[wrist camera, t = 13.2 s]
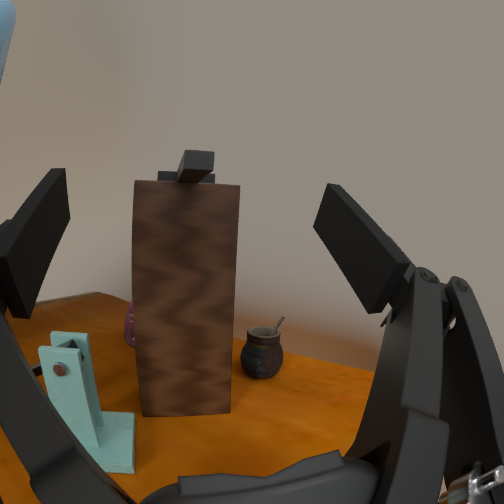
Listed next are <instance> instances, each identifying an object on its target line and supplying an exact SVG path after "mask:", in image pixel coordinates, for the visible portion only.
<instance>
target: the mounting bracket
mask: <svg viewBox="0 0 504 504" xmlns="http://www.w3.org/2000/svg"><path fill="white" fill-rule="evenodd" d="M50 338H51V344H52V347H51V346H40V347H39V349H38V353H39V358H40V363H41V367H42V372H43V376H44V380H45V384H46V388H47V392H48V395H49V399H50V401H51V402H52V404H53V405H54V407H55V408H56V410H57V411H58V413H59V414H60V416H61V417H62V418H63V420H64V421H65V423H66V424H67V425H68V427H69V428H70V430H71V431H72V432H73V434H74V435H75V436H76V438H77V439H78V440H79V441H80V443H81V444H82V445H83V446H84V448H85V449H86V450H87V451H88V453H89V454H90V455H91V456H92V457H93V459H94V460H95V461H96V462H97V463H98V464H99V466H100V467H101V468H102V469H103V470H104V471H105V472H111V473H129V474H134V473H135V425H136V420H135V414H134V413H129V412H106V411H101V407H100V402H99V398H98V393H97V388H96V382H95V377H94V371H93V364H92V358H91V351H90V343H89V335H88V333H73V332H59V331H52V332H51V334H50ZM71 339H73V340H74V341H75V343H76V345H77V346H78V348H79V349H76V348H63V347H56V346H58V345H60V344H62V343H64V342H67V341H69V340H71ZM80 351H81V352H80ZM81 353H82V354H83V356H84V359H83V362H82V358H81Z"/></svg>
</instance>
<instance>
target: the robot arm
mask: <svg viewBox="0 0 504 504" xmlns="http://www.w3.org/2000/svg"><path fill="white" fill-rule="evenodd" d="M15 17H16V14H15V9H14V6H13V4H12V3H11V2H10V1H9V0H0V83H1V79H2V76H3V72H4V67H5V63H6V58H7V55H8V51H9V47H10V42H11V38H12V34H13V30H14V26H15ZM69 220H70V212H69V204H68V195H67V184H66V172H65V168H55V169H51V170H50V171H49V172H48V173H47V174H46V176H45V177H44V178H43V179H42V180H41V181H40V183H39V184H38V185H37V186H36V188H35V189H34V190H33V192H32V193H31V194H30V195H29V197H28V198H27V199H26V201H25V202H24V203H23V204H22V206H21V207H20V209H19V210H18V211H17V213H16V214H15V215H14V217H13V218H12V219H11V220H6V221H5V222H3V223H2V224H1V225H0V424H1V426H2V428H3V430H4V432H5V434H6V436H7V438H8V440H9V442H10V443H11V445H12V447H13V449H14V450H15V452H16V454H17V455H18V457H19V459H20V460H21V462H22V464H23V465H24V467H25V468H26V470H27V472H28V473H29V476H30V485H31V488H32V490H33V492H34V493H35V495H36V496H37V498H38V499H39V501H40V502H41V504H137V503H136V502H135V501H134V500H133V499H132V498H131V497H130V496H129V495H128V494H127V493H126V492H125V491H124V490H123V489H122V488H121V487H120V486H119V485H118V484H117V483H116V482H115V481H114V480H113V479H112V478H111V477H110V476H109V475H108V474H107V473H106V472H105V471H104V470H103V469H102V468H101V467H100V466H99V464H98V463H97V462H96V461H95V460H94V459H93V457H92V456H91V455H90V454H89V453H88V451H87V450H86V449H85V448H84V446H83V445H82V444H81V443H80V441H79V440H78V439H77V438H76V436H75V435H74V434H73V432H72V431H71V430H70V428H69V427H68V425H67V424H66V423H65V421H64V420H63V418H62V417H61V416H60V414H59V413H58V411H57V410H56V408H55V407H54V405H53V404H52V402H51V401H50V399H49V398H48V396H47V394H46V393H45V391H44V390H43V388H42V386H41V385H40V383H39V381H38V380H37V378H36V376H35V374H34V373H33V371H32V369H31V367H30V366H29V364H28V362H27V360H26V358H25V356H24V354H23V352H22V350H21V349H20V347H19V345H18V343H17V340H16V338H15V336H14V334H13V332H12V330H11V328H10V326H9V323H8V321H7V319H6V317H5V312H6V309H7V307H8V308H9V310H10V312H11V314H12V316H13V318H22V319H30V317H31V314H32V311H33V308H34V305H35V302H36V299H37V296H38V294H39V291H40V288H41V285H42V283H43V280H44V278H45V275H46V272H47V270H48V267H49V265H50V263H51V260H52V258H53V255H54V253H55V251H56V249H57V246H58V244H59V242H60V240H61V237H62V235H63V233H64V231H65V228H66V227H67V225H68V223H69ZM313 228H314V229H315V231H316V232H317V234H318V235H319V237H320V238H321V240H322V241H323V242H324V244H325V246H326V247H327V249H328V250H329V252H330V254H331V255H332V257H333V258H334V260H335V261H336V263H337V264H338V266H339V268H340V269H341V271H342V272H343V274H344V275H345V277H346V278H347V280H348V282H349V283H350V285H351V287H352V288H353V290H354V291H355V293H356V295H357V296H358V298H359V299H360V301H361V303H362V305H363V306H364V308H365V310H366V311H367V313H368V314H372V313H381V312H382V311H383V309H384V308H385V306H386V305H387V303H388V302H389V304H390V305H391V307H392V309H391V310H390V312H389V313H388V315H387V316H386V318H385V319H384V321H383V322H382V324H381V326H380V327H383V326H384V324H386V327H385V332H384V337H383V342H382V346H381V351H380V355H379V359H378V363H377V368H376V371H375V375H374V379H373V383H372V387H371V390H370V394H369V397H368V401H367V404H366V408H365V411H364V414H363V417H362V421H361V424H360V427H359V430H358V433H357V436H356V439H355V441H354V443H353V445H352V446H351V448H350V449H349V450H348V452H347V453H346V454H345V456H344V457H341V454H340V451H339V449H338V450H335V451H331V452H328V453H324V454H321V455H317V456H313V457H309V458H305V459H303V460H301V461H299V462H297V463H295V464H293V465H291V466H289V467H287V468H285V469H283V470H281V471H279V472H277V473H275V474H273V475H270V476H267V477H258V476H244V475H233V474H223V473H218V474H208V475H194V476H178V482H177V483H174V484H171V485H168V486H165V487H163V488H160V489H158V490H157V491H155V492H153V493H151V494H150V495H149V496H147V497H146V498H144V499H143V500H142V501H141V502H140V503H139V504H504V373H503V370H502V367H501V363H500V360H499V357H498V355H497V351H496V349H495V346H494V343H493V340H492V337H491V335H490V332H489V329H488V327H487V324H486V322H485V319H484V317H483V314H482V312H481V309H480V307H479V305H478V302H477V300H476V298H475V295H474V293H473V291H472V289H471V288H470V286H469V285H468V283H467V282H466V281H465V280H464V279H462V278H459V277H456V276H453V277H451V279H450V281H449V282H448V284H444V283H440V281H439V279H438V277H437V276H436V275H435V274H434V273H432V272H431V271H430V270H428V269H426V268H423V267H417V268H416V267H415V265H414V264H413V263H412V262H411V261H410V260H409V258H408V257H407V256H406V255H405V254H404V252H403V251H401V249H400V248H399V247H398V246H397V244H396V243H395V242H394V241H393V240H392V239H391V238H390V237H389V236H388V235H386V234H385V232H384V231H383V230H382V229H381V228H380V227H379V226H378V225H377V224H376V222H375V221H374V220H373V219H372V218H371V217H370V216H369V215H368V214H367V213H366V212H365V211H364V210H363V209H362V208H361V206H360V205H359V204H358V203H357V202H356V201H355V200H354V199H353V198H352V197H351V196H350V195H349V194H348V193H347V192H346V191H345V190H344V189H343V188H342V187H341V186H340V185H336V184H329V183H328V184H327V186H326V189H325V192H324V195H323V198H322V202H321V204H320V208H319V210H318V214H317V216H316V220H315V222H314V225H313ZM454 318H456V323H455V326H454V327H453V328H452V329H450V324H451V322H452V321H453V320H454ZM443 475H444V480H445V485H446V489H447V491H446V492H444V493H443V494H442V495H441V496H440V498H439V495H440V490H441V485H442V480H443ZM178 483H179V484H178ZM179 489H180V490H179ZM180 495H181V496H180ZM438 499H439V502H438ZM0 504H3V501H2V499H1V496H0Z"/></svg>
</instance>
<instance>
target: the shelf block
mask: <svg viewBox="0 0 504 504" xmlns="http://www.w3.org/2000/svg"><path fill="white" fill-rule="evenodd" d="M134 183H135V184H134V198H133V218H132V304H133V324H134V339H135V352H136V363H137V373H138V382H139V390H140V398H141V405H142V412H143V416H144V417H163V416H194V415H210V414H223V413H230V400H231V371H232V345H233V320H234V298H235V276H236V255H237V236H238V218H239V200H240V199H239V198H240V185H227V184H212V183H196V182H175V181H148V180H147V181H146V180H135V182H134Z"/></svg>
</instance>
